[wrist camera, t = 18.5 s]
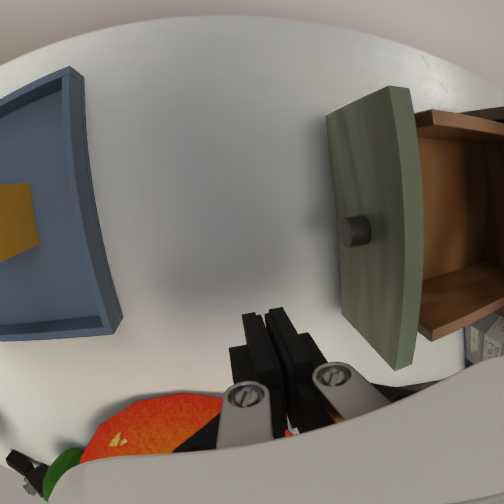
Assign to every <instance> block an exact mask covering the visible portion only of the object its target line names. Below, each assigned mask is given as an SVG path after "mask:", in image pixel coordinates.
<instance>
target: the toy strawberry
mask: <svg viewBox="0 0 504 504" xmlns="http://www.w3.org/2000/svg"><path fill="white" fill-rule="evenodd" d="M222 399H223V398H216V397H208V396H201V395H194V394H188V393H179V394H175V395H170V396H165V397H160V398H154V399H149V400H143V401H137V402H135V403H133V404H132V405H130V406H129V407H127V408H126V409H124V410H123V411H121V412H119V413H118V414H116V415H115V416H113V417H112V418H110V419H109V420H107V421H105V422H104V423H102V424H101V425H100V426H99V428H98V429H97V431H96V433H95V434H94V436H93V438H92V439H91V441H90V443H89V444H88V446H87V448H86V449H85V451H84V453H83V455H82V456H81V459H80V464H82V463H85V462H89V461H93V460H97V459H102V458H109V457H116V456H129V455H150V454H166V453H172V452H173V451H174V450H175V449H176V448H177V447H178V446H179V445H180V444H182V443H183V442H184V441H186V440H187V439H188V438H189V437H191V436H192V435H193V434H194V433H196V432H197V431H198V430H199V429H201V428H202V427H203V426H204V425H205V424H207V423H208V422H209V421H210V420H212V419H213V418H214V417H215V416H216V415H217V414H219V413H220V412H221V406H222ZM285 435H286V437H287V436H292V435H293V434H292V433H291V432H290V431H289V430H285Z"/></svg>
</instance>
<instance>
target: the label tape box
mask: <svg viewBox="0 0 504 504" xmlns="http://www.w3.org/2000/svg"><path fill="white" fill-rule="evenodd" d="M465 339H466V368H468V367H470V366H472V365H474V364H477V363H479V362H482V361H485V360H487V359H490V358H494V357H499V356H504V318H503V317H502V316H500V315H498V314H496V313H495V312H492V313H490V314H488V315H487V316H485V317H483V318H481V319H479V320H477V321H475V322H473V323H471V324H469V325H467V326H465Z"/></svg>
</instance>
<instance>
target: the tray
mask: <svg viewBox="0 0 504 504" xmlns="http://www.w3.org/2000/svg"><path fill="white" fill-rule="evenodd" d="M17 183H30V191H31V198H32V204H33V210H34V216H35V221H36V226H37V231H38V236H39V241H40V244H39V245H37V246H35V247H32V248H30V249H28V250H26V251H24V252H22V253H19V254H17V255H15V256H13V257H11V258H9V259H7V260H5V261H3V262H1V263H0V341H28V340H48V339H63V338H77V337H89V336H100V335H110V334H114V333H115V331H116V329H117V327H118V326H119V324H120V322H121V320H122V319H123V315H122V312H121V309H120V306H119V302H118V299H117V296H116V292H115V289H114V285H113V281H112V278H111V274H110V270H109V266H108V262H107V258H106V254H105V250H104V245H103V241H102V236H101V231H100V226H99V221H98V216H97V211H96V205H95V199H94V193H93V187H92V180H91V172H90V165H89V156H88V146H87V135H86V122H85V103H84V77H83V76H82V75H81V74H79V73H78V72H77V71H76V70H74V69H73V68H72V67H70V66H68V67H66V68H63V69H61V70H58V71H56V72H54V73H51V74H49V75H47V76H45V77H42V78H40V79H38V80H36V81H34V82H32V83H30V84H28V85H26V86H24V87H22V88H20V89H18V90H16V91H14V92H12V93H11V94H9V95H7V96H5V97H3V98H2V99H0V185H5V184H17Z"/></svg>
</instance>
